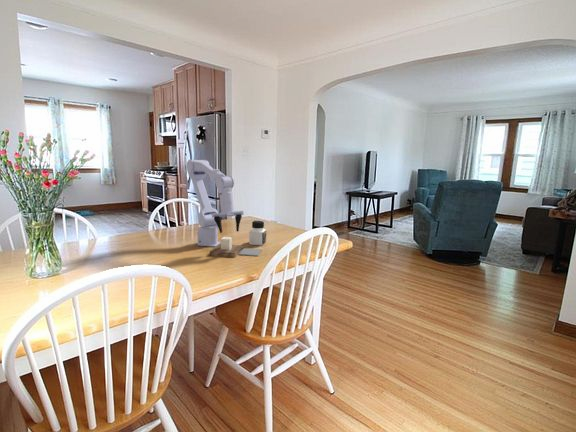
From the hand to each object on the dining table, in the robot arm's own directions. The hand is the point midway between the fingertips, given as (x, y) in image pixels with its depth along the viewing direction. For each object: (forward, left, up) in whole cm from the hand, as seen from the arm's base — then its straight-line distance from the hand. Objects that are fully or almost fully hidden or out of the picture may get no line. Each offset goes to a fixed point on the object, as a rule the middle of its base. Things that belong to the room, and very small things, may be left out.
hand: (229, 231), depth 146 cm
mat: (+10, +2, -10) cm, 14 cm away
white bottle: (+10, +18, -10) cm, 22 cm away
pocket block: (-1, 0, -10) cm, 10 cm away
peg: (-1, 0, -10) cm, 10 cm away
